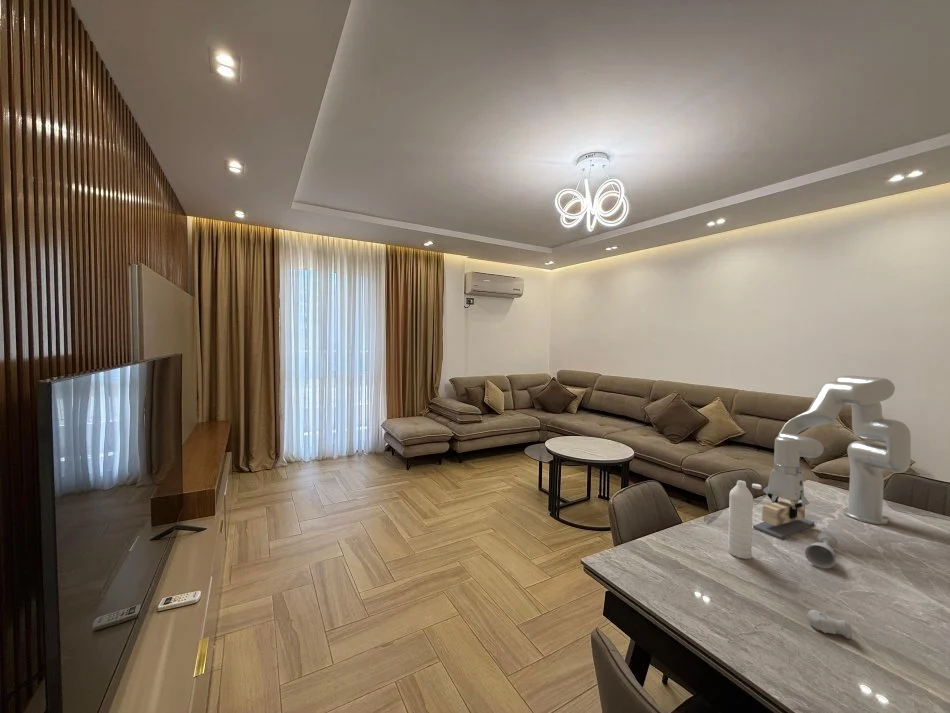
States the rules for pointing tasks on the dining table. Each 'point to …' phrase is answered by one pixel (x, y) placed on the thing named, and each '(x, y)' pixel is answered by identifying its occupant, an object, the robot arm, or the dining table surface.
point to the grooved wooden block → (781, 512)
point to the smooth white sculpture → (829, 624)
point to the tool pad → (783, 528)
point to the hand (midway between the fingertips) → (784, 514)
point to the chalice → (822, 551)
